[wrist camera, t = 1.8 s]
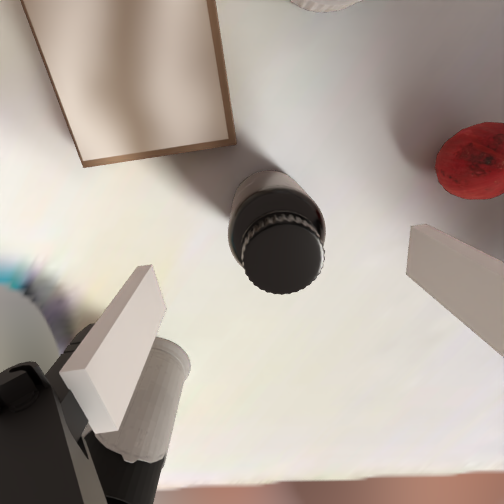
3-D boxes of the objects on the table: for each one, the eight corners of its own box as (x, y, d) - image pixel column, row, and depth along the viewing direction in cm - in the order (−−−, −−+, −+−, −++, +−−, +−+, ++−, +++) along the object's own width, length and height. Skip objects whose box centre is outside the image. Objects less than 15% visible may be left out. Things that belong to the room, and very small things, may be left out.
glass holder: (203, 355, 34) (176, 509, 20) (153, 421, 38) (104, 584, 24) (136, 325, 32) (55, 475, 18) (92, 399, 36) (0, 564, 22)
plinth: (209, -39, 19) (201, -80, 15) (236, 143, 24) (236, 145, 20) (43, -11, 19) (-3, -44, 16) (103, 163, 24) (79, 168, 21)
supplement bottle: (232, 167, 25) (224, 195, 14) (306, 170, 25) (356, 200, 14) (231, 238, 28) (224, 308, 17) (298, 240, 28) (334, 310, 17)
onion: (403, 177, 26) (468, 195, 18) (440, 113, 24) (530, 104, 16) (453, 198, 27) (534, 223, 19) (493, 138, 25) (600, 141, 17)
